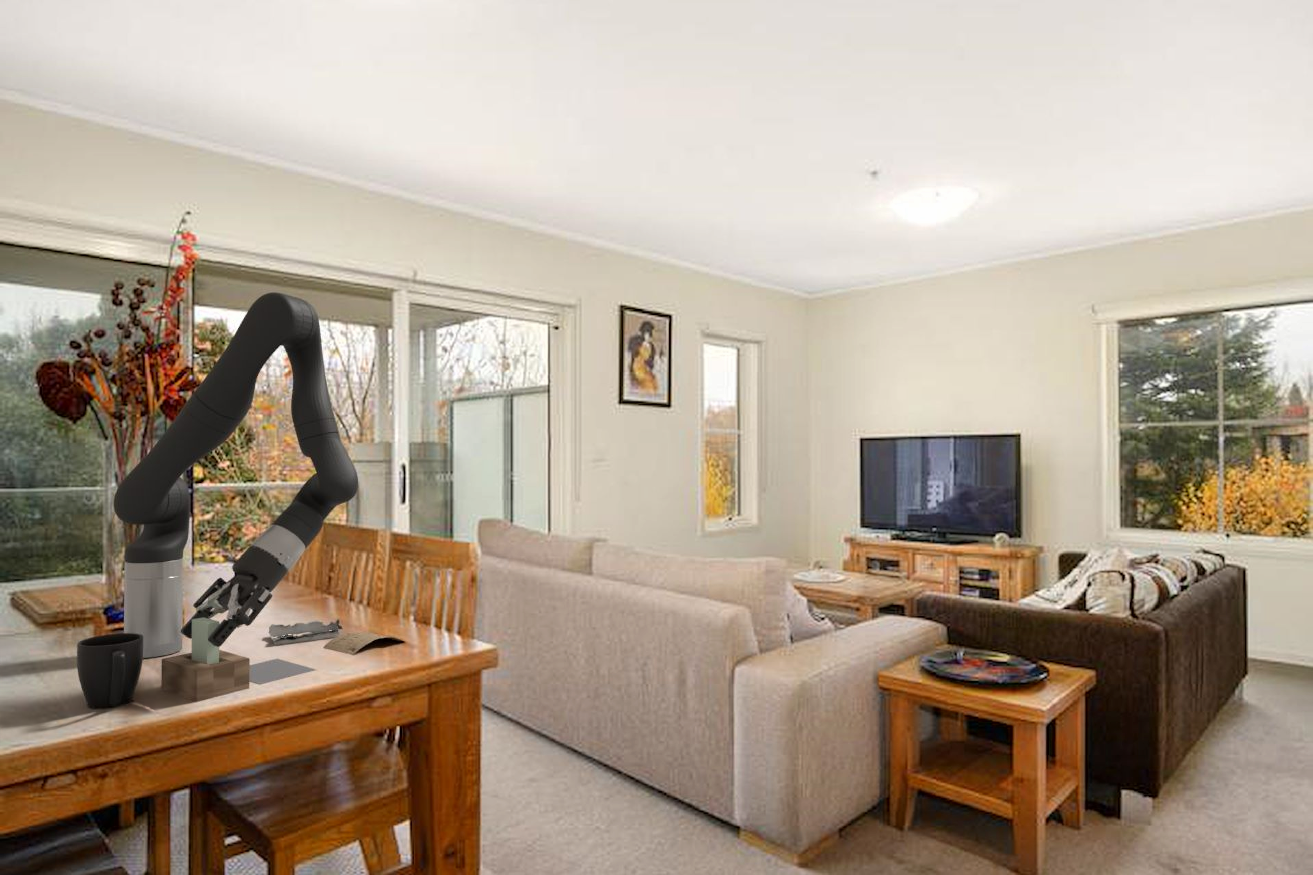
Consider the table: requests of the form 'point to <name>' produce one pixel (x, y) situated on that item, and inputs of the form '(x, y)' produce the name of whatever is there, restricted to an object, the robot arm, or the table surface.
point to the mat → (275, 671)
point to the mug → (109, 668)
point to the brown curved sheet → (353, 641)
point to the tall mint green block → (204, 641)
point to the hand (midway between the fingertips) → (198, 639)
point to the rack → (205, 676)
